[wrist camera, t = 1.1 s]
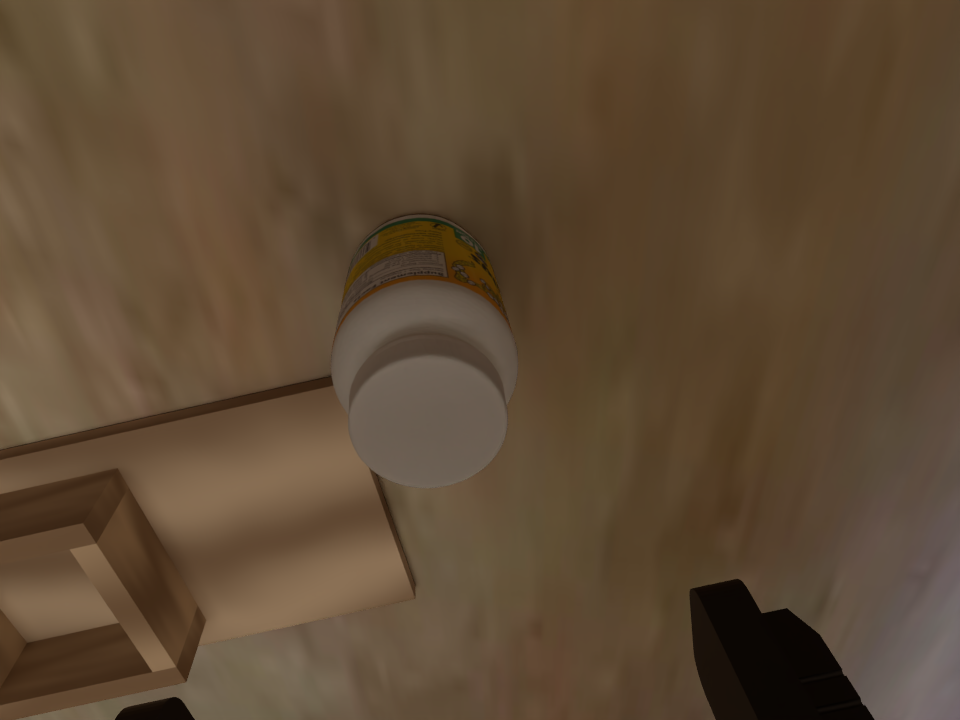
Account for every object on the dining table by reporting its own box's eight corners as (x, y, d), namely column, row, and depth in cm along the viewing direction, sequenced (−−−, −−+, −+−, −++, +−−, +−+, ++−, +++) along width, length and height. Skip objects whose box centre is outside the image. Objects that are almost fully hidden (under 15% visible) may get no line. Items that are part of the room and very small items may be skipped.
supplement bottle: (331, 227, 24) (288, 352, 15) (480, 197, 24) (519, 306, 15) (369, 358, 26) (350, 527, 18) (503, 331, 26) (547, 488, 18)
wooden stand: (-148, 483, 27) (-232, 555, 23) (341, 374, 27) (330, 431, 23) (12, 673, 33) (-36, 755, 29) (415, 585, 32) (415, 657, 29)
